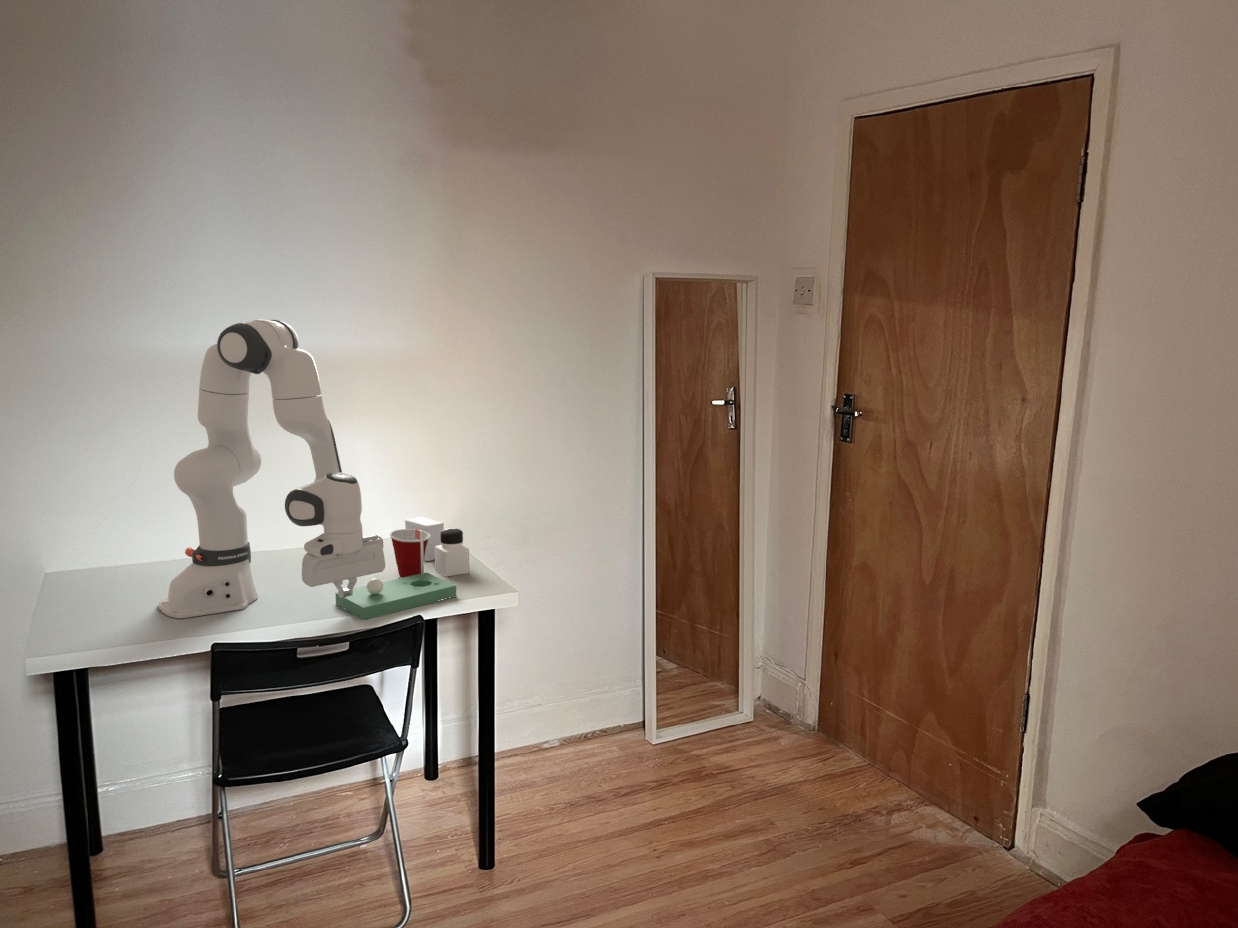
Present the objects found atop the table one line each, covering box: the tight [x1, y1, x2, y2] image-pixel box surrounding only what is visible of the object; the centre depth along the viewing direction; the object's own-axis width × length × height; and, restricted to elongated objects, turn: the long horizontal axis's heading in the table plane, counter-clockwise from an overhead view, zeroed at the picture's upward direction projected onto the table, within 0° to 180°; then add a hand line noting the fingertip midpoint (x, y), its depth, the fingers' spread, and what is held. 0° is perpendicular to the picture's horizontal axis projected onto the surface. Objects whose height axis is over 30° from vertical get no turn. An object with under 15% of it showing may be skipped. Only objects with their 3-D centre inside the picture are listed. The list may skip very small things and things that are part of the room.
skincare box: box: [404, 516, 445, 562], centre depth 280 cm, size 10×6×10 cm, turn 49°
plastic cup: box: [389, 528, 431, 578], centre depth 261 cm, size 11×11×12 cm
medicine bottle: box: [434, 527, 470, 578], centre depth 266 cm, size 7×7×12 cm
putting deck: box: [335, 529, 457, 621], centre depth 242 cm, size 26×16×15 cm, turn 133°
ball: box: [366, 577, 383, 594], centre depth 238 cm, size 4×4×4 cm
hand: (345, 596), depth 233 cm, fingers closed
